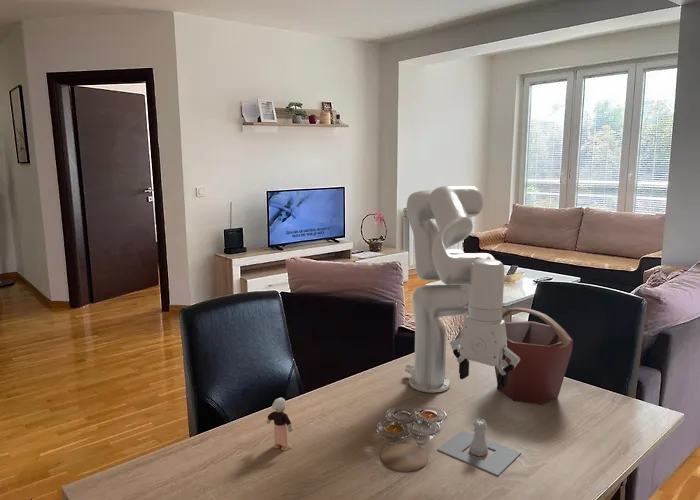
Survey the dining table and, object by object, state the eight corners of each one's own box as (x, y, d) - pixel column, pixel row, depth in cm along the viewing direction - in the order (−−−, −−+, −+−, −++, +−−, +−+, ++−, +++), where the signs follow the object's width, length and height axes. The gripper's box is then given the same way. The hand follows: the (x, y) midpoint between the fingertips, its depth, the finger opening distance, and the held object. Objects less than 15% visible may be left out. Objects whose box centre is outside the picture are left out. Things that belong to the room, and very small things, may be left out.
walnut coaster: (371, 459, 127) (371, 457, 127) (399, 440, 135) (399, 438, 135) (409, 477, 120) (409, 475, 120) (436, 456, 128) (436, 454, 128)
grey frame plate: (437, 450, 131) (437, 449, 131) (462, 431, 140) (462, 430, 140) (497, 476, 120) (498, 475, 120) (521, 453, 129) (521, 452, 129)
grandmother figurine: (297, 444, 133) (296, 397, 131) (291, 453, 130) (290, 404, 127) (270, 439, 136) (268, 392, 134) (262, 447, 132) (261, 399, 130)
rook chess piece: (488, 457, 127) (490, 426, 126) (469, 455, 128) (470, 424, 127) (487, 447, 132) (489, 417, 130) (469, 445, 133) (470, 415, 131)
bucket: (474, 380, 170) (477, 304, 166) (532, 370, 178) (536, 297, 173) (524, 415, 148) (529, 328, 143) (587, 402, 155) (594, 319, 150)
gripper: (444, 309, 126) (442, 378, 129) (513, 324, 115) (509, 399, 118) (460, 302, 132) (458, 368, 135) (528, 316, 120) (524, 388, 124)
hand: (482, 383), depth 126 cm, fingers open, 9 cm apart
